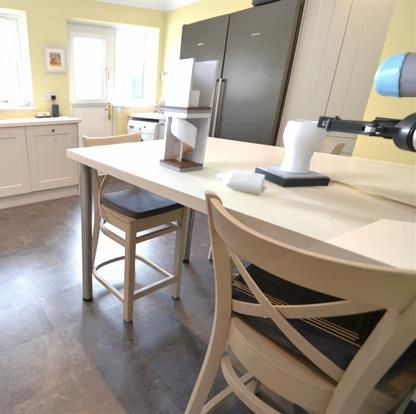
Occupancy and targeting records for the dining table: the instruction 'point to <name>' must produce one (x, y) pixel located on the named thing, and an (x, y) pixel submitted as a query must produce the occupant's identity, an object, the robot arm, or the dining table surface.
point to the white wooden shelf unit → (188, 113)
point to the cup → (301, 145)
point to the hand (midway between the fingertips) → (347, 122)
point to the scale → (292, 177)
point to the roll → (243, 181)
